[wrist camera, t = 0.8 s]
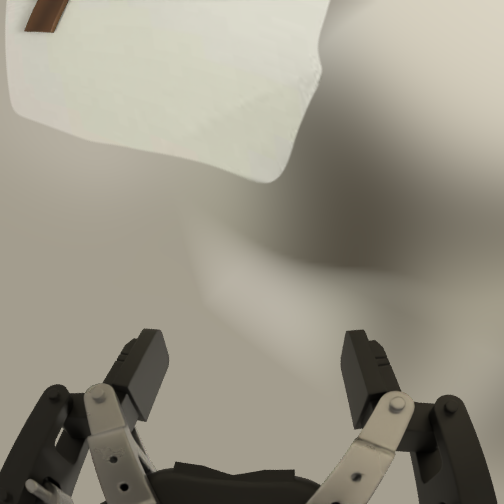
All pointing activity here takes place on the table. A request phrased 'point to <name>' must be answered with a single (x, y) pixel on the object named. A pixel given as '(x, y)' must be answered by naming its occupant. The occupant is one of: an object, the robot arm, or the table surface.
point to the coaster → (45, 15)
